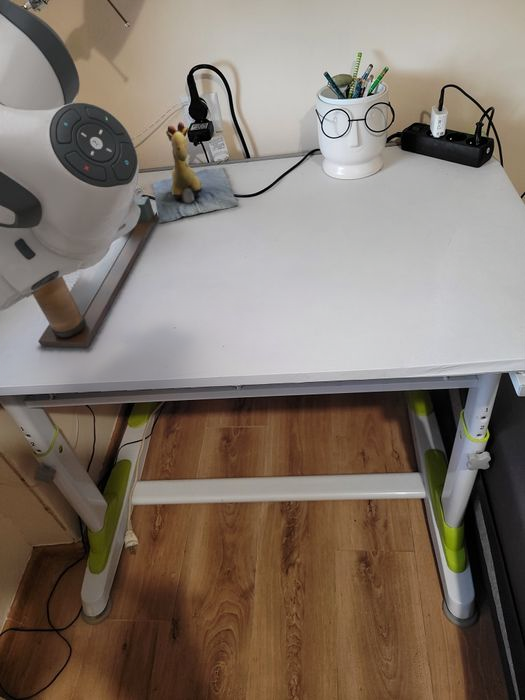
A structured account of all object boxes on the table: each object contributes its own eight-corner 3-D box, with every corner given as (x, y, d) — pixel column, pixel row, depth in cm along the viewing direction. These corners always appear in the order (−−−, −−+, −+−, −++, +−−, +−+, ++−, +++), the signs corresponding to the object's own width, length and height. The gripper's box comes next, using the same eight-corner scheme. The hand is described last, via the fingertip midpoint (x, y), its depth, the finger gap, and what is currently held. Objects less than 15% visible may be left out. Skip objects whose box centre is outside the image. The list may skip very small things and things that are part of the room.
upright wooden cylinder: (54, 342, 77) (8, 262, 67) (51, 322, 81) (6, 242, 70) (88, 330, 78) (47, 249, 68) (83, 311, 82) (43, 231, 71)
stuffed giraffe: (159, 223, 101) (139, 142, 90) (153, 185, 114) (134, 110, 103) (238, 207, 103) (227, 127, 92) (223, 172, 116) (212, 97, 105)
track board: (88, 348, 78) (85, 342, 77) (41, 346, 79) (37, 340, 78) (158, 217, 103) (156, 211, 102) (121, 218, 104) (119, 212, 103)
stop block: (151, 227, 101) (144, 204, 97) (118, 227, 102) (110, 205, 98) (155, 218, 103) (148, 196, 99) (123, 219, 104) (115, 197, 100)
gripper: (127, 160, 59) (106, 213, 71) (-37, 249, 49) (-29, 292, 61) (162, 205, 59) (135, 249, 71) (8, 301, 50) (7, 333, 62)
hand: (58, 270), depth 66 cm, fingers open, 8 cm apart
